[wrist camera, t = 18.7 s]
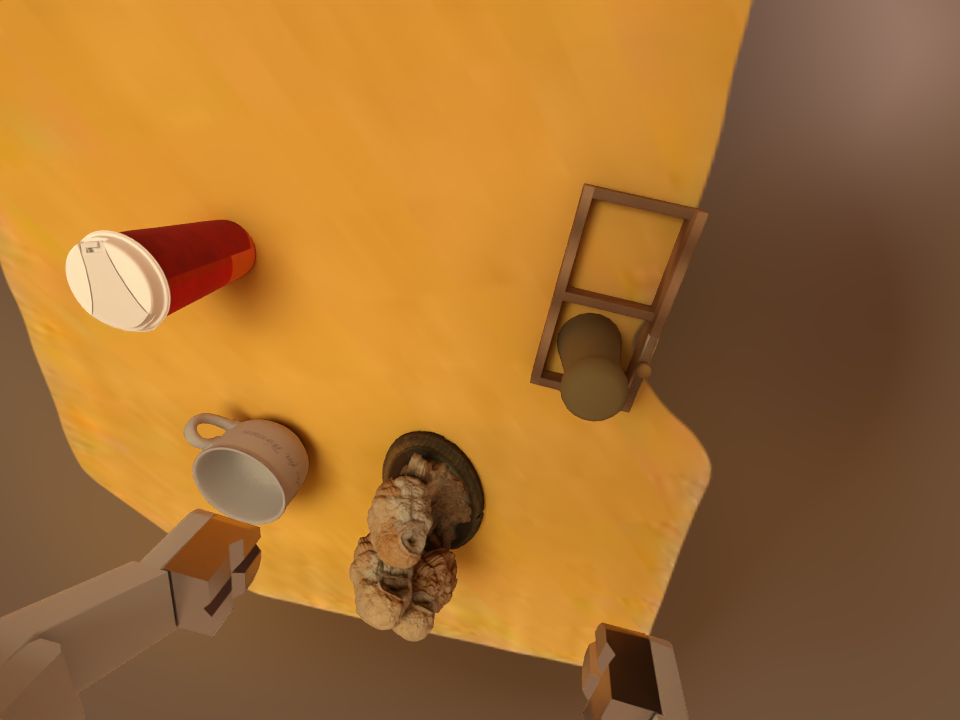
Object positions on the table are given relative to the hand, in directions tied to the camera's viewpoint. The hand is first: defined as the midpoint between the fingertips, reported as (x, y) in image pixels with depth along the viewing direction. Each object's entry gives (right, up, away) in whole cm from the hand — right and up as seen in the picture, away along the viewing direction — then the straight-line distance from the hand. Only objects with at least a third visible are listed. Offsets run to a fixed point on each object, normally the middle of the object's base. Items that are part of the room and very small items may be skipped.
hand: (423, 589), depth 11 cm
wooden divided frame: (+13, +11, +32) cm, 36 cm away
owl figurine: (-4, -10, +45) cm, 47 cm away
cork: (+12, +7, +34) cm, 37 cm away
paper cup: (-24, +17, +36) cm, 46 cm away
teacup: (-24, -4, +46) cm, 52 cm away
